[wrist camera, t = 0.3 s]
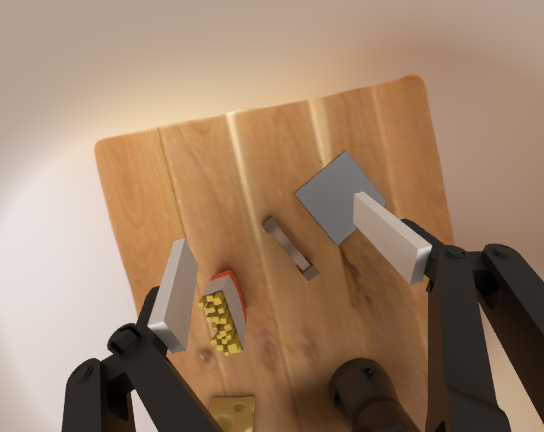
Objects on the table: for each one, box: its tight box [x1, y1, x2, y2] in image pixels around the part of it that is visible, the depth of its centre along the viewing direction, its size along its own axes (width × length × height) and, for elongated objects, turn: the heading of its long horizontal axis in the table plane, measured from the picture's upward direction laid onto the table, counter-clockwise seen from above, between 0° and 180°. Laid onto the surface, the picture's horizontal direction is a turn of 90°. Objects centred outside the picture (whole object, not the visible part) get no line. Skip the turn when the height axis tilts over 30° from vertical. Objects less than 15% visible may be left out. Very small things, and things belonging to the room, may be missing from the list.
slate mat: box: [294, 151, 387, 246], centre depth 52 cm, size 16×16×1 cm
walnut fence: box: [261, 216, 320, 282], centre depth 48 cm, size 15×3×7 cm, turn 40°
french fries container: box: [198, 270, 247, 356], centre depth 42 cm, size 5×11×18 cm, turn 18°
